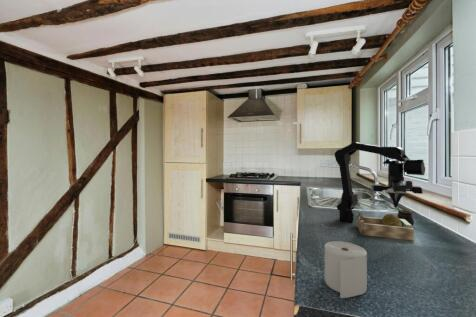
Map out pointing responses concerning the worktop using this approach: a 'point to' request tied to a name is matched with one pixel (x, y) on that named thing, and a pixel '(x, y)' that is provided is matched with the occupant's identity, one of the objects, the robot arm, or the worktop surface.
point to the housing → (382, 228)
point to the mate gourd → (405, 216)
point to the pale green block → (405, 223)
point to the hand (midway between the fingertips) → (395, 207)
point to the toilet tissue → (346, 268)
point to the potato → (391, 220)
